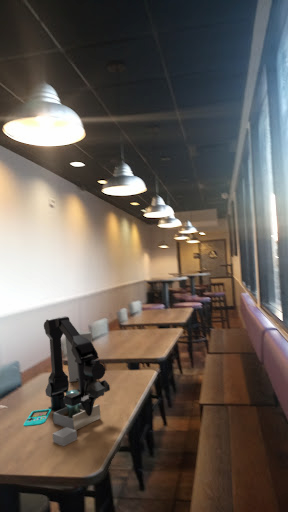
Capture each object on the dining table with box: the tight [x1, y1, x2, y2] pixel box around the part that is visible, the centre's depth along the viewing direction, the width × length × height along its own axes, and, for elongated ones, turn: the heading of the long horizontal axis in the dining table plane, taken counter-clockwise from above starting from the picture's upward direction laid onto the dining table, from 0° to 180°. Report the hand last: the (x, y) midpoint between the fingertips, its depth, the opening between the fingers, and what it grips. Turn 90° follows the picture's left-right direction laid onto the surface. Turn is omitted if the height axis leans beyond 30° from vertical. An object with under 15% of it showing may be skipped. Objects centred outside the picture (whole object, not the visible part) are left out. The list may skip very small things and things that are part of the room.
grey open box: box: [52, 403, 85, 430], centre depth 148 cm, size 13×13×4 cm
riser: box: [52, 427, 78, 447], centre depth 131 cm, size 6×6×3 cm
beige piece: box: [61, 404, 102, 431], centre depth 147 cm, size 13×13×5 cm
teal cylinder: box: [65, 389, 80, 418], centre depth 149 cm, size 5×5×10 cm
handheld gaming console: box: [23, 408, 52, 427], centre depth 155 cm, size 8×1×15 cm
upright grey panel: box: [64, 331, 93, 383], centre depth 203 cm, size 14×6×25 cm, turn 94°
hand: (89, 415), depth 142 cm, fingers closed
